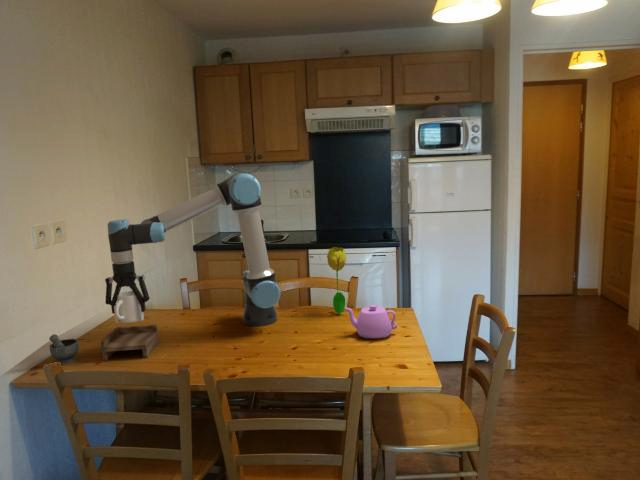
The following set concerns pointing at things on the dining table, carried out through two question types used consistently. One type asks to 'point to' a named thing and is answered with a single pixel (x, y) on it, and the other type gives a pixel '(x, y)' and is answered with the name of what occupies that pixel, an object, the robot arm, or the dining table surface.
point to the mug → (127, 307)
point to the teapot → (373, 322)
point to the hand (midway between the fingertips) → (130, 320)
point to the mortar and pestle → (63, 349)
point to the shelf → (130, 340)
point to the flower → (337, 263)
